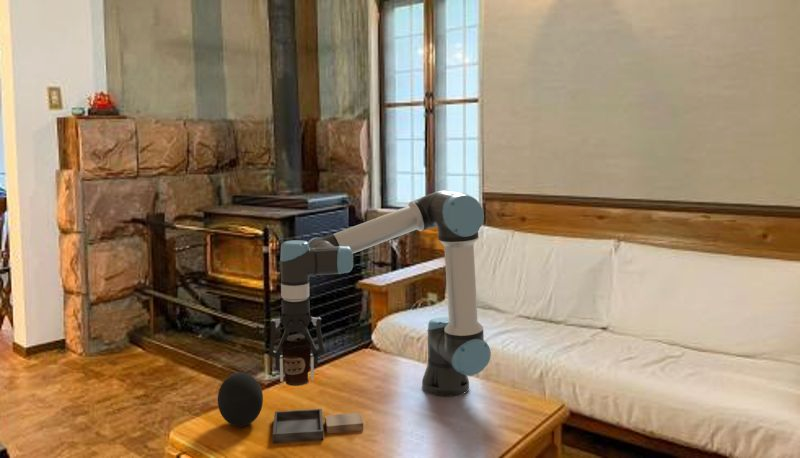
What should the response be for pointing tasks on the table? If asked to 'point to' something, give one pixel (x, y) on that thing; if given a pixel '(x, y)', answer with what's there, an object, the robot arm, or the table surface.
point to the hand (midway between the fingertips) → (297, 378)
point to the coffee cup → (296, 360)
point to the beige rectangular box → (343, 423)
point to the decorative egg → (240, 399)
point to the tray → (298, 426)
